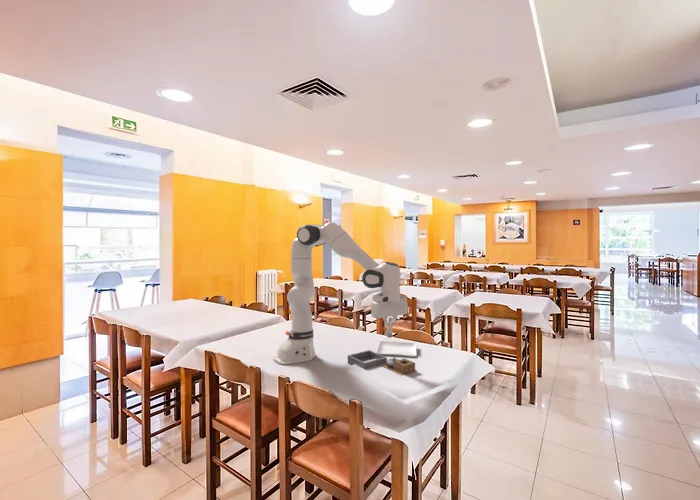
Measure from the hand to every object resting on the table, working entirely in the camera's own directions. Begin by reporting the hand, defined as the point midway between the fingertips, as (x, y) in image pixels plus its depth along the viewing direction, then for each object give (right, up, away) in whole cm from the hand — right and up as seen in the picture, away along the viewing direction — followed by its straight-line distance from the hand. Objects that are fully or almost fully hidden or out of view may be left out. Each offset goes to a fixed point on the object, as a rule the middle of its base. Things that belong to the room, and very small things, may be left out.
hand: (389, 325), depth 160 cm
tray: (-10, -22, +9) cm, 25 cm away
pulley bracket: (+4, -22, -1) cm, 22 cm away
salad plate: (+7, -22, +26) cm, 34 cm away
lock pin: (0, -6, 0) cm, 6 cm away
